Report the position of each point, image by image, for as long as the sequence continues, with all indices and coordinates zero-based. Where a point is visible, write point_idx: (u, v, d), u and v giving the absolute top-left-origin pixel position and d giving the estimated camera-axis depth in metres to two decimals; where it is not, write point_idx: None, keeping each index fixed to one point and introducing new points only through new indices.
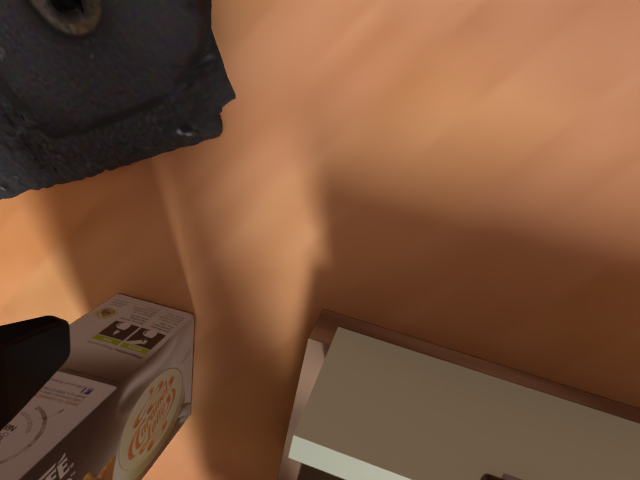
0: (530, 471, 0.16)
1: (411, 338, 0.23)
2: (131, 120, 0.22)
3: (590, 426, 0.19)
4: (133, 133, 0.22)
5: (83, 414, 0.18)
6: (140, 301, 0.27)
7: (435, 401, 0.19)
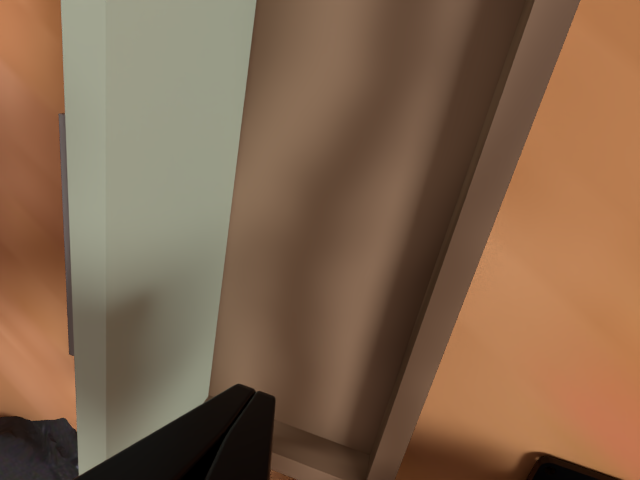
0: None
1: None
2: None
3: None
4: None
5: None
6: None
7: None
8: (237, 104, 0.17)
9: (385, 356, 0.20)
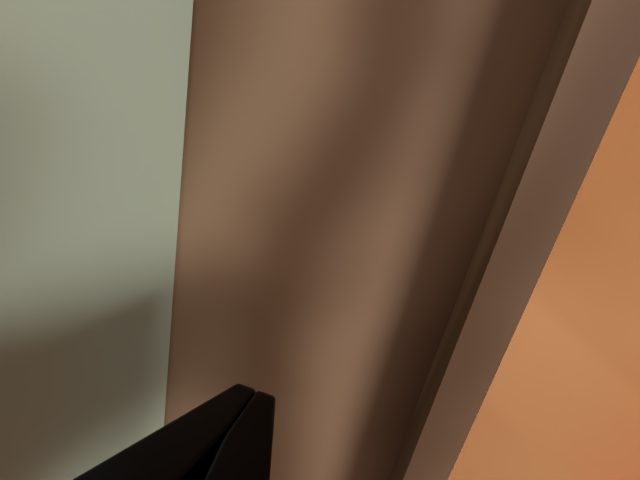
0: None
1: None
2: None
3: None
4: None
5: None
6: None
7: None
8: (175, 111, 0.12)
9: (380, 438, 0.15)
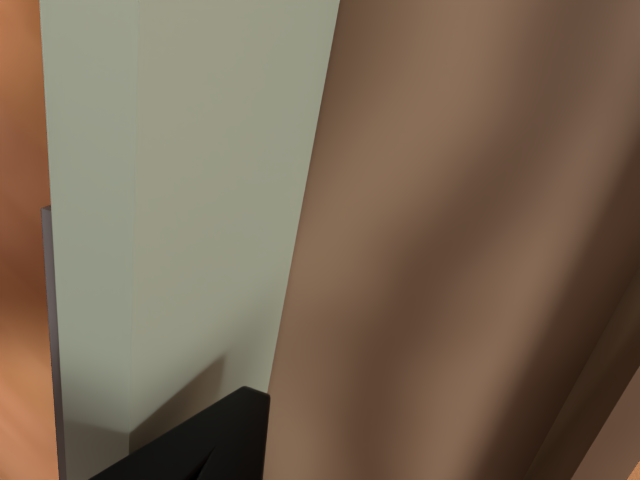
0: None
1: None
2: None
3: None
4: None
5: None
6: None
7: None
8: (307, 147, 0.12)
9: (495, 478, 0.15)
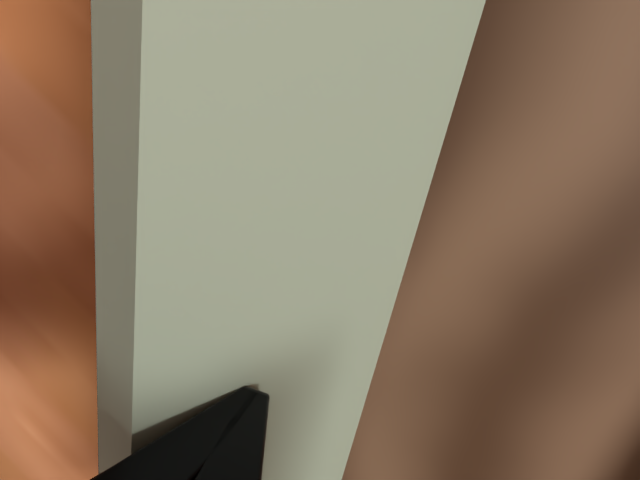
0: None
1: None
2: None
3: None
4: None
5: None
6: None
7: None
8: (422, 180, 0.10)
9: None
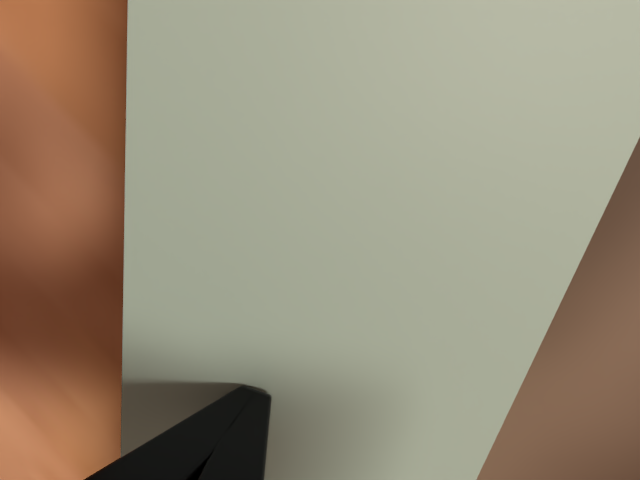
0: None
1: None
2: None
3: None
4: None
5: None
6: None
7: None
8: (558, 245, 0.07)
9: None
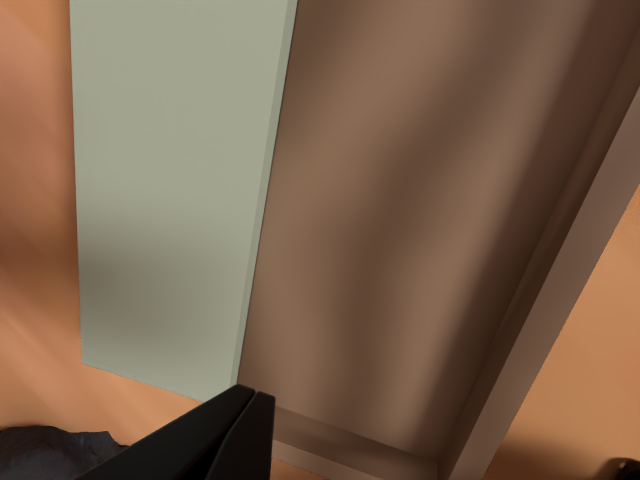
0: None
1: None
2: None
3: None
4: None
5: None
6: None
7: None
8: (262, 59, 0.14)
9: (464, 356, 0.18)
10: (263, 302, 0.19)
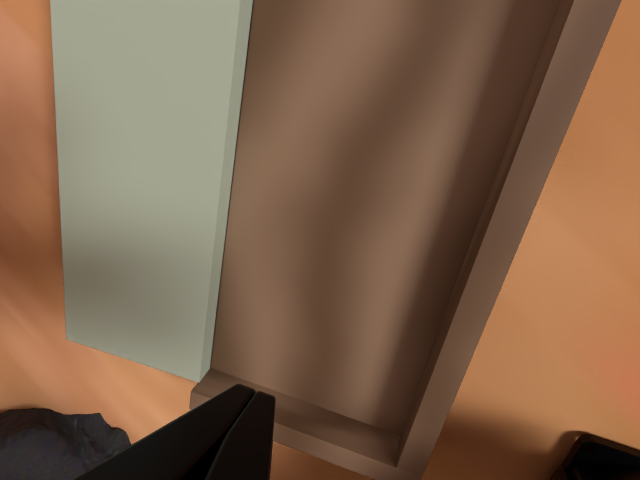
0: None
1: None
2: None
3: None
4: None
5: None
6: None
7: None
8: (221, 47, 0.16)
9: (419, 329, 0.19)
10: (233, 279, 0.20)
